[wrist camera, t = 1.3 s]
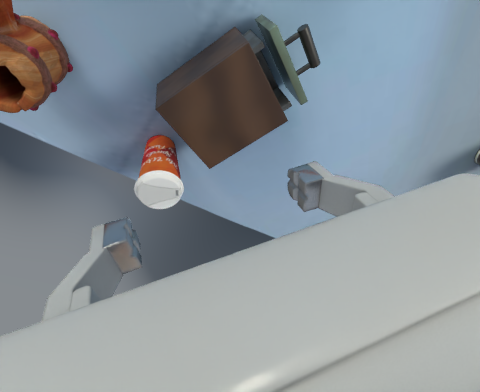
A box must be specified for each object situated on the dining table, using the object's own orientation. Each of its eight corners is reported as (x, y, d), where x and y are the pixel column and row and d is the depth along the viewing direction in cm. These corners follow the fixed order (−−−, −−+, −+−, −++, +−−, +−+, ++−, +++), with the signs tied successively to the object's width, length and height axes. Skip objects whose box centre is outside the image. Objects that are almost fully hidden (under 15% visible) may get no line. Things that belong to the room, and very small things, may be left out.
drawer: (287, -5, 39) (307, 3, 34) (313, 69, 47) (333, 85, 42) (184, 70, 43) (187, 88, 38) (225, 126, 52) (232, 148, 46)
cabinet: (235, 26, 41) (248, 42, 35) (271, 97, 50) (288, 120, 44) (156, 84, 45) (155, 109, 38) (204, 140, 54) (209, 169, 47)
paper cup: (179, 129, 51) (182, 174, 41) (181, 162, 56) (185, 209, 46) (136, 130, 49) (128, 177, 40) (142, 164, 55) (137, 213, 45)
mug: (86, 78, 42) (58, 123, 31) (30, 84, 41) (-17, 133, 30) (33, -47, 32) (-34, -43, 21) (-42, -43, 31) (-152, -37, 20)
